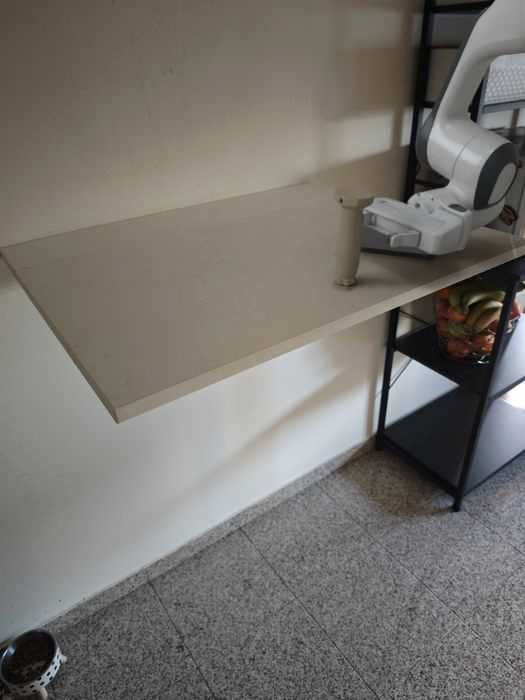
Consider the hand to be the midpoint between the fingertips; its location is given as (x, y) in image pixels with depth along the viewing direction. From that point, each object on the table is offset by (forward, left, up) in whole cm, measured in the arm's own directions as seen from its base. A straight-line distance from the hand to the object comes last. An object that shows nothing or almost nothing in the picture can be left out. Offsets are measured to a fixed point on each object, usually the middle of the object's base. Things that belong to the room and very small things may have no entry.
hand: (369, 232), depth 81 cm
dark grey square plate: (-2, -20, -8) cm, 22 cm away
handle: (+3, +3, -8) cm, 9 cm away
